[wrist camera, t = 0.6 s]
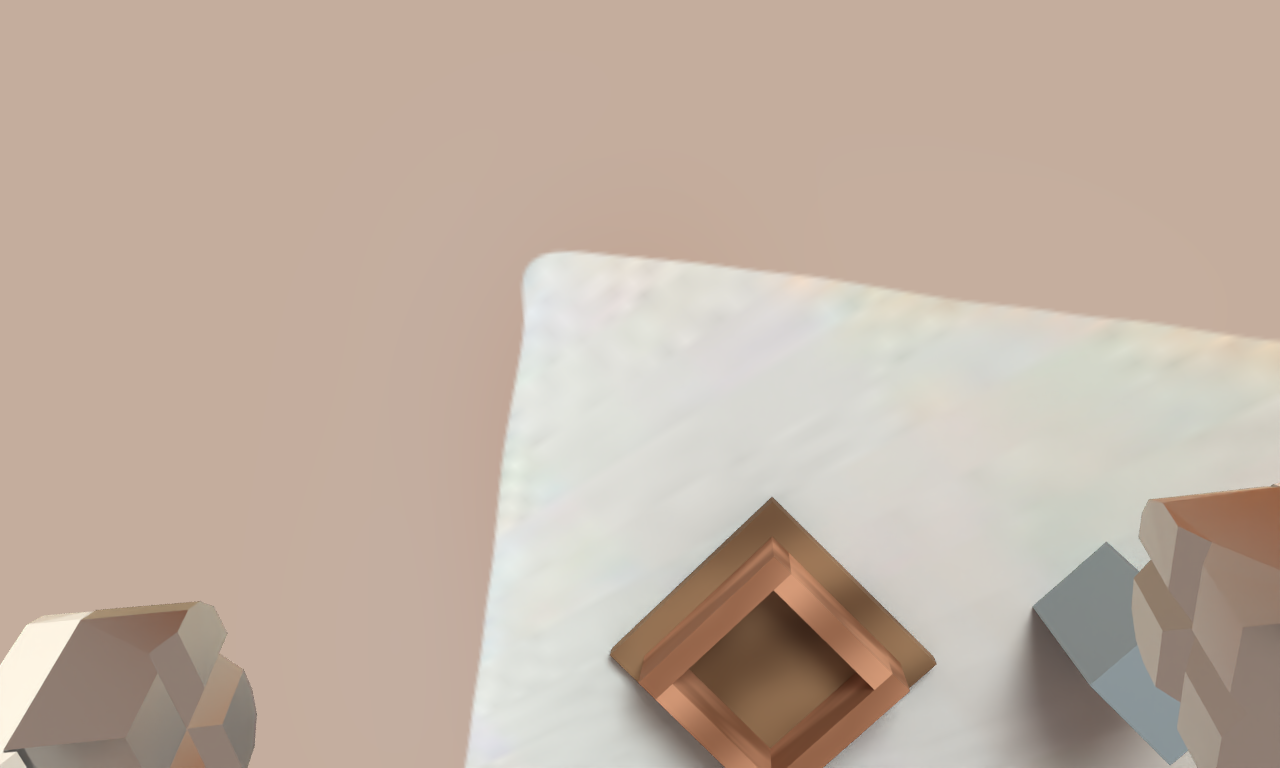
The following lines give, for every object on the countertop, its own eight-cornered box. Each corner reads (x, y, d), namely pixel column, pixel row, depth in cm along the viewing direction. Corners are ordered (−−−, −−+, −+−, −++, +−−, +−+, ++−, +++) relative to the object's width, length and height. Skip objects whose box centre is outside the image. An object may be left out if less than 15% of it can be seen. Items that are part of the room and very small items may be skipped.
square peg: (1174, 609, 58) (1261, 690, 48) (1099, 673, 59) (1170, 765, 49) (1106, 541, 58) (1179, 608, 48) (1032, 606, 59) (1089, 685, 49)
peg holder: (933, 656, 60) (948, 692, 55) (769, 801, 62) (771, 846, 57) (772, 496, 59) (774, 519, 55) (612, 648, 61) (601, 681, 57)
